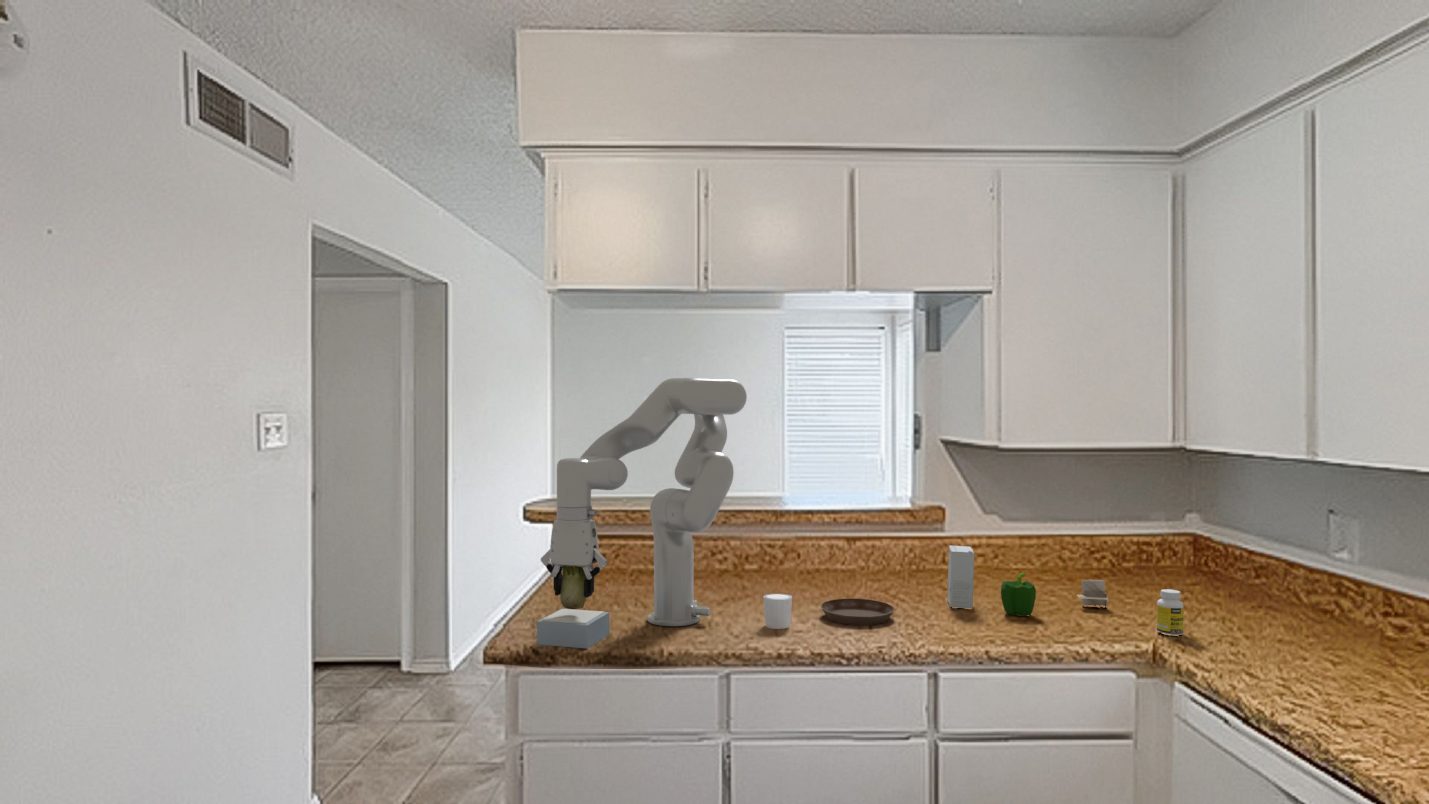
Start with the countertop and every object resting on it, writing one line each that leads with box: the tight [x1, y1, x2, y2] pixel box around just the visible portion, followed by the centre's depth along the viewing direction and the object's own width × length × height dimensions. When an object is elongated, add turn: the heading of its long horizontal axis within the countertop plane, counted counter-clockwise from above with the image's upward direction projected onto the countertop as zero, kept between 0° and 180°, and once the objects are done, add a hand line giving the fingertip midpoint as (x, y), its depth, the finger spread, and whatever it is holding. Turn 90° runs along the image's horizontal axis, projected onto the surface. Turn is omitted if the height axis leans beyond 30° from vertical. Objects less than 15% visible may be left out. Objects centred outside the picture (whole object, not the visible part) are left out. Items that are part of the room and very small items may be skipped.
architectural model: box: [1076, 579, 1109, 607], centre depth 231 cm, size 3×7×7 cm, turn 80°
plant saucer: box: [820, 597, 895, 626], centre depth 222 cm, size 18×18×3 cm
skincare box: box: [947, 545, 975, 609], centre depth 235 cm, size 8×6×15 cm
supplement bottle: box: [1156, 588, 1185, 635], centre depth 207 cm, size 5×5×10 cm
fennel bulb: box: [559, 566, 587, 610], centre depth 202 cm, size 6×5×12 cm
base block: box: [536, 608, 610, 649], centre depth 202 cm, size 12×12×5 cm
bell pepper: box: [1000, 572, 1037, 617], centre depth 225 cm, size 8×8×10 cm
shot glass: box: [762, 593, 793, 630], centre depth 214 cm, size 7×7×7 cm
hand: (573, 594), depth 202 cm, fingers closed on fennel bulb, 6 cm apart
